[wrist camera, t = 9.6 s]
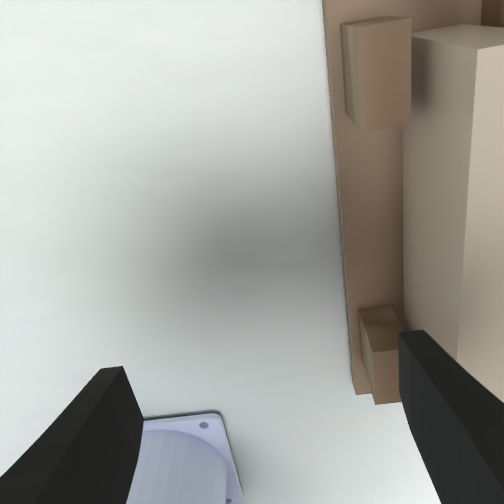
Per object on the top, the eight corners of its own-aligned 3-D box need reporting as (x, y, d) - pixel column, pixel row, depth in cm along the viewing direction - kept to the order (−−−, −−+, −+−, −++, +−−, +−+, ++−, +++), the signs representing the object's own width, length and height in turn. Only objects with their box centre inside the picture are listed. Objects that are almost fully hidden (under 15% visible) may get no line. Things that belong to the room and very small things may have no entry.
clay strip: (403, 347, 22) (449, 455, 17) (402, 34, 15) (477, 49, 10) (445, 342, 22) (505, 449, 17) (462, 23, 15) (569, 33, 10)
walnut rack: (352, 380, 24) (368, 443, 21) (317, -58, 15) (336, -77, 12) (485, 365, 24) (524, 427, 20) (535, -102, 14) (625, -136, 11)
